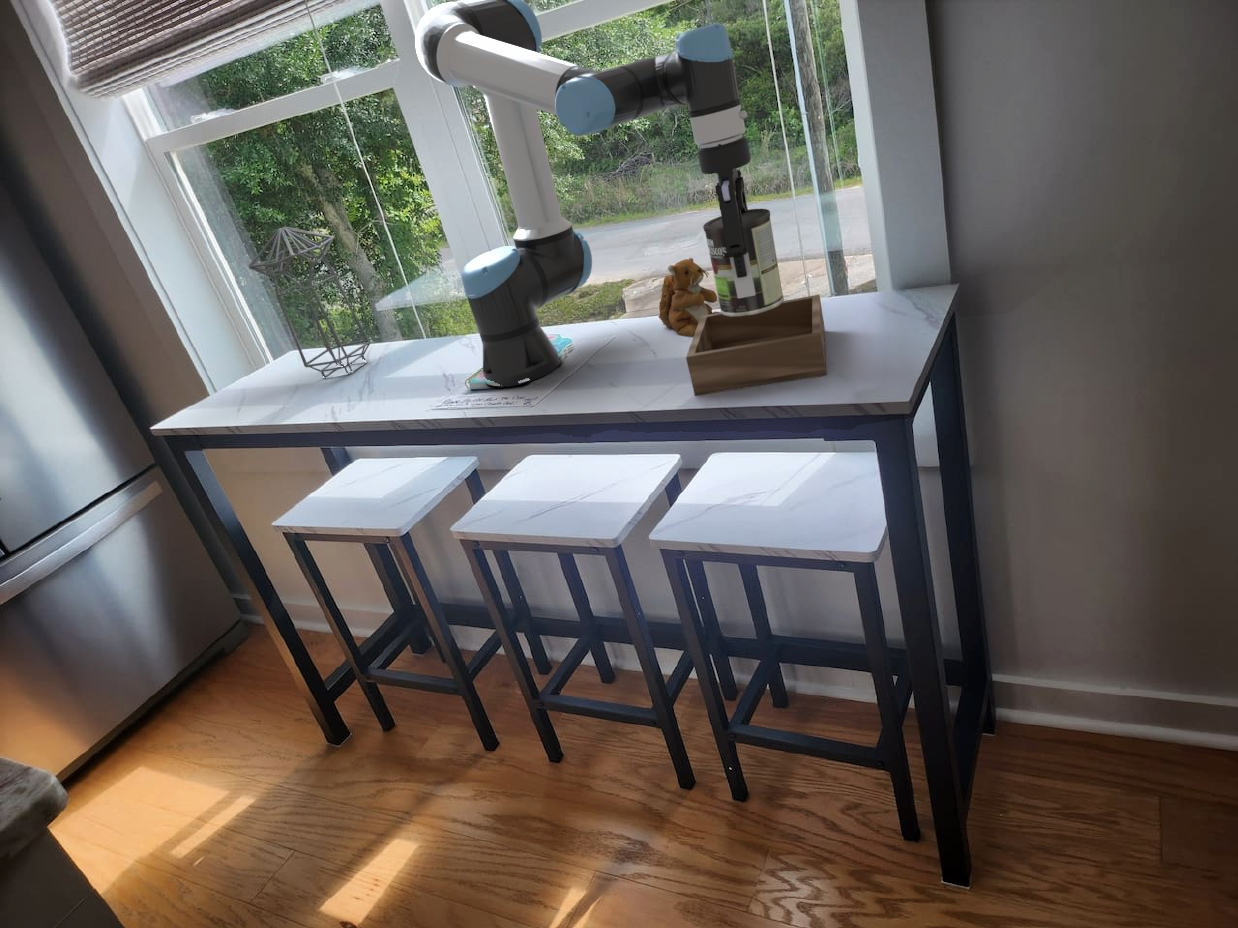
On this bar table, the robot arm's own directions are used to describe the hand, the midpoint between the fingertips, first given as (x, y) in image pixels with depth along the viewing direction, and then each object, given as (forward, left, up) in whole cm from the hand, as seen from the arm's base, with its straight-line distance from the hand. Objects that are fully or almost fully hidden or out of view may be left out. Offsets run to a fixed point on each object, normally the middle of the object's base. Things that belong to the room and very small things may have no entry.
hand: (749, 286), depth 135 cm
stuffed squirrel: (-28, -16, -13) cm, 34 cm away
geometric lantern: (-40, -103, -13) cm, 111 cm away
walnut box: (0, 0, -13) cm, 13 cm away
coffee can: (0, 0, -3) cm, 3 cm away
